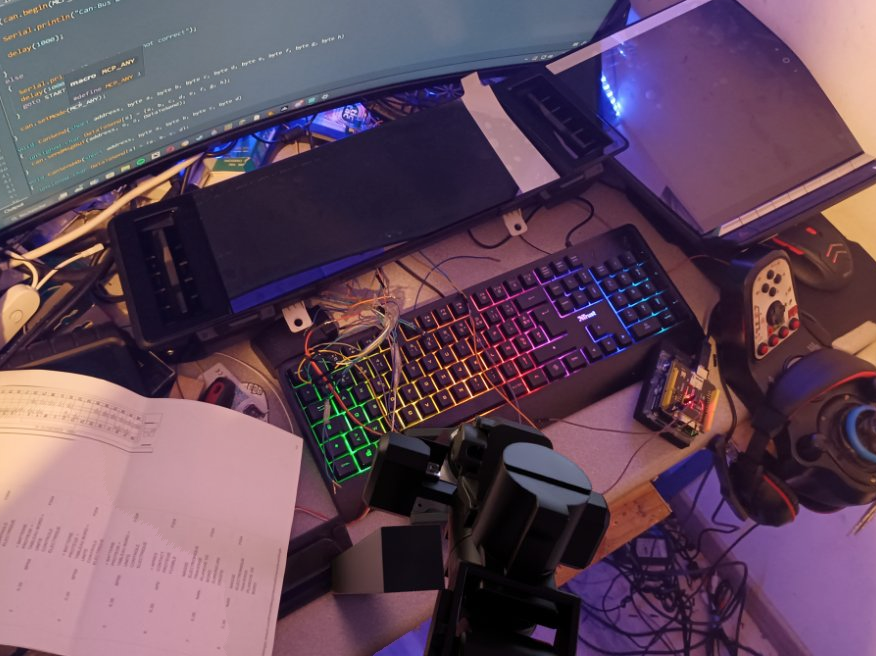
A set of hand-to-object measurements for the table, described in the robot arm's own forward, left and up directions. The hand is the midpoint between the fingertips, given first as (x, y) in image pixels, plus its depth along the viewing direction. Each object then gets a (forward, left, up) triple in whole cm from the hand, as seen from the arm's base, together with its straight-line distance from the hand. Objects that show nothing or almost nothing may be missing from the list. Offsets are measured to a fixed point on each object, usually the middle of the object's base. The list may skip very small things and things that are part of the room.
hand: (480, 444), depth 65 cm
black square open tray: (-1, 0, -11) cm, 11 cm away
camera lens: (-1, 0, -7) cm, 7 cm away
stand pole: (-10, +11, -11) cm, 19 cm away
